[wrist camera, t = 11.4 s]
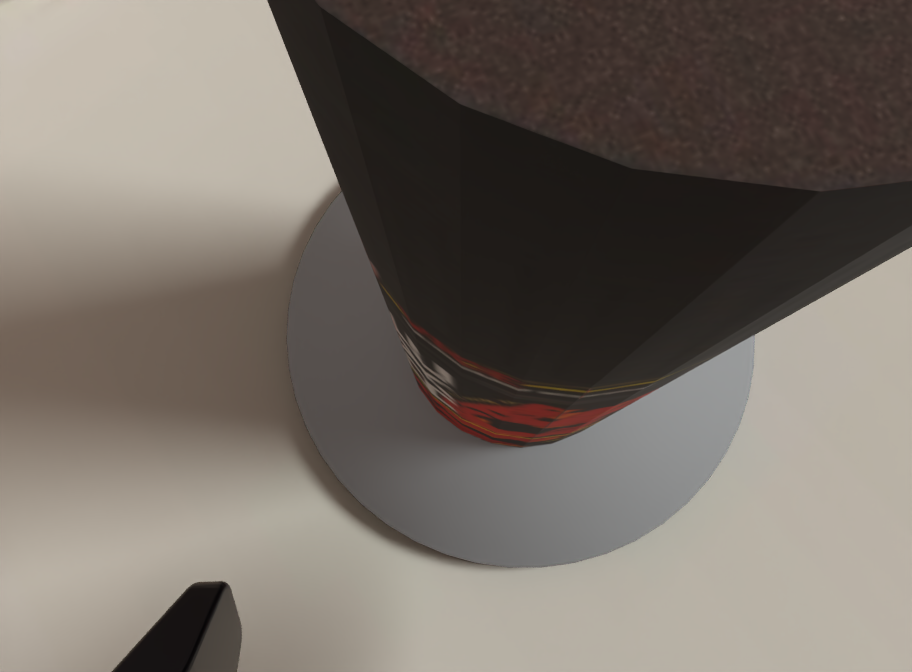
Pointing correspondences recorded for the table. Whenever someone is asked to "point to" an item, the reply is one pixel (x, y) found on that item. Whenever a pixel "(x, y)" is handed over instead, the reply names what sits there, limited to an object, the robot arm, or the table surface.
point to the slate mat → (476, 461)
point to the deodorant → (604, 182)
